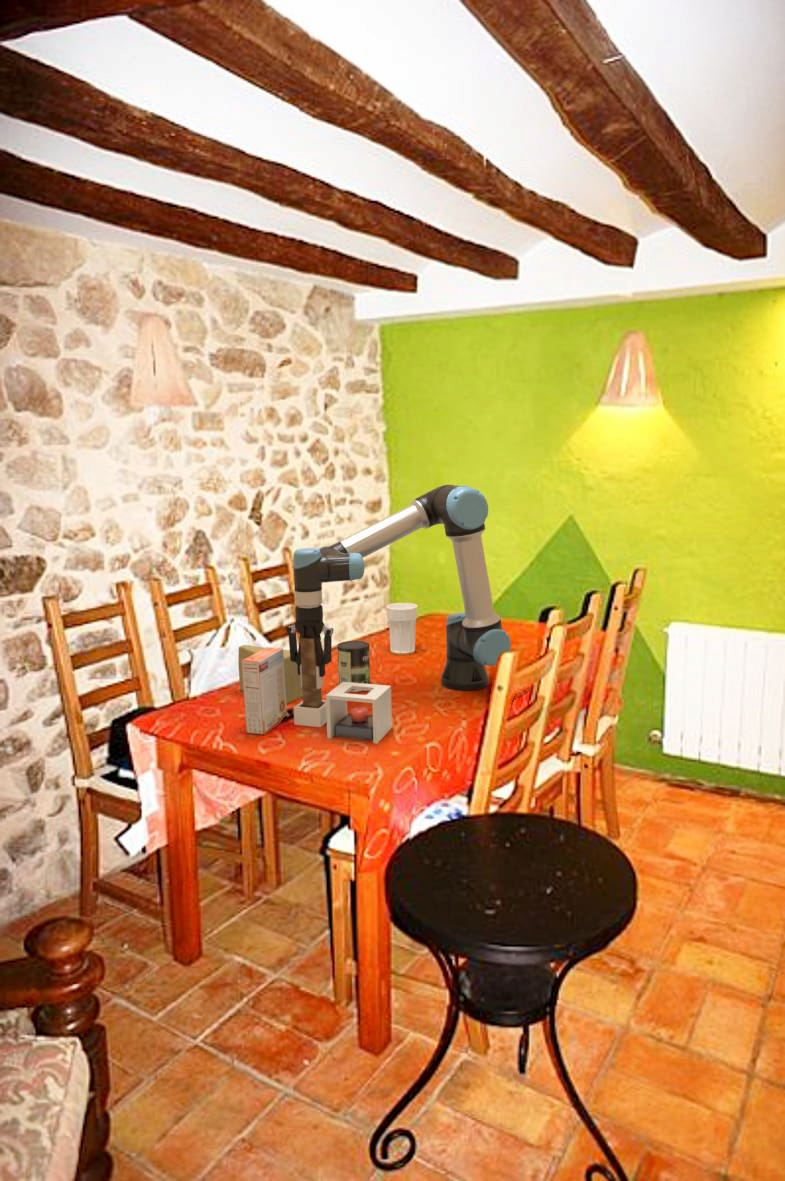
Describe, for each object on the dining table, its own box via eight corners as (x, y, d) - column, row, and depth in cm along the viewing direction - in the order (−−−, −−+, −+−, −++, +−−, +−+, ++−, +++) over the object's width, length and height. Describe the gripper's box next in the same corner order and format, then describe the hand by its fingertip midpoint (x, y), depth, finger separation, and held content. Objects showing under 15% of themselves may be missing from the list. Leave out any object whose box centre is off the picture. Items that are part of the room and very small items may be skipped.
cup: (423, 650, 298) (423, 604, 295) (407, 657, 289) (407, 610, 286) (397, 646, 304) (397, 601, 301) (381, 653, 295) (380, 607, 292)
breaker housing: (383, 728, 220) (382, 716, 219) (371, 740, 211) (371, 728, 211) (349, 725, 223) (348, 713, 222) (336, 737, 214) (336, 724, 214)
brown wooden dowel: (322, 711, 227) (319, 635, 223) (316, 715, 224) (313, 639, 219) (309, 709, 229) (306, 634, 224) (303, 714, 225) (300, 638, 221)
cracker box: (269, 716, 231) (265, 646, 227) (288, 718, 229) (284, 647, 225) (244, 733, 218) (240, 659, 214) (264, 736, 216) (260, 661, 212)
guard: (391, 727, 220) (390, 685, 218) (377, 743, 209) (375, 699, 207) (344, 722, 225) (343, 681, 222) (327, 738, 214) (325, 695, 211)
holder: (332, 717, 229) (331, 700, 228) (320, 727, 222) (320, 710, 221) (306, 715, 232) (305, 698, 231) (294, 724, 224) (293, 707, 223)
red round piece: (370, 728, 218) (370, 707, 217) (365, 734, 214) (364, 713, 213) (355, 726, 220) (354, 706, 219) (348, 732, 215) (348, 711, 214)
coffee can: (373, 683, 260) (372, 640, 258) (366, 693, 250) (365, 649, 248) (343, 681, 262) (341, 639, 260) (334, 691, 253) (333, 648, 250)
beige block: (230, 694, 252) (227, 647, 249) (251, 685, 260) (249, 641, 257) (283, 706, 240) (281, 657, 237) (304, 697, 248) (302, 650, 245)
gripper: (342, 603, 221) (345, 685, 226) (286, 600, 226) (290, 680, 231) (332, 609, 214) (335, 693, 219) (274, 606, 220) (278, 688, 224)
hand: (311, 686), depth 225 cm, fingers closed on brown wooden dowel, 4 cm apart
